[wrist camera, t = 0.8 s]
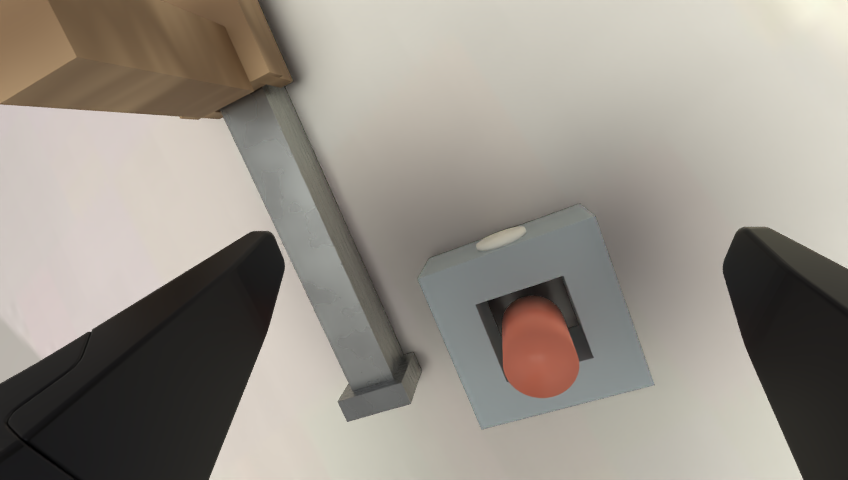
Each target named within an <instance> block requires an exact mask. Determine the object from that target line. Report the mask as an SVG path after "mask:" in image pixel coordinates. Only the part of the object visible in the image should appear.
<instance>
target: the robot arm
mask: <svg viewBox="0 0 848 480" xmlns="http://www.w3.org/2000/svg"><path fill="white" fill-rule="evenodd" d="M284 269H285V263H284V259H283V256H282V254H281V251H280V249H279V247H278V244H277V242H276V239H275V237H274V235H273V234H272V233H271V232H269V231H253V232H250V233H248V234H247V235H245V236H243V237H242V238H240V239H238V240H237V241H235V242H234V243H232V244H230V245H229V246H227V247H225V248H224V249H222V250H221V251H219V252H217V253H216V254H214V255H212V256H211V257H209V258H208V259H206V260H204V261H203V262H201V263H199V264H198V265H196V266H195V267H193V268H191V269H190V270H188V271H186V272H185V273H183V274H182V275H180V276H178V277H177V278H175V279H173V280H172V281H170V282H169V283H167V284H165V285H164V286H162V287H160V288H159V289H157V290H156V291H154V292H152V293H151V294H149V295H147V296H146V297H144V298H143V299H141V300H139V301H138V302H136V303H134V304H133V305H131V306H130V307H128V308H126V309H125V310H123V311H121V312H120V313H118V314H117V315H115V316H113V317H112V318H110V319H108V320H107V321H105V322H104V323H102V324H100V325H99V326H97V327H95V328H94V329H93V330H92V332H87V333H85V334H84V335H82V336H81V337H79V338H77V339H76V340H74V341H73V342H71V343H69V344H68V345H66V346H64V347H63V348H61V349H59V350H58V351H56V352H54V353H53V354H51V355H49V356H48V357H46V358H44V359H43V360H41V361H39V362H38V363H36V364H34V365H32V366H30V367H29V368H27V369H25V370H23V371H22V372H20V373H18V374H16V375H15V376H13V377H11V378H9V379H7V380H6V381H4V382H2V383H1V384H0V480H209V478H210V475H211V473H212V470H213V468H214V465H215V462H216V460H217V457H218V455H219V452H220V450H221V447H222V445H223V442H224V440H225V437H226V435H227V432H228V430H229V427H230V425H231V422H232V420H233V417H234V415H235V412H236V410H237V407H238V405H239V402H240V400H241V397H242V395H243V392H244V390H245V387H246V385H247V382H248V380H249V377H250V375H251V372H252V370H253V367H254V365H255V362H256V360H257V357H258V354H259V352H260V349H261V347H262V344H263V342H264V339H265V337H266V334H267V331H268V328H269V325H270V321H271V318H272V314H273V311H274V307H275V303H276V300H277V296H278V292H279V289H280V285H281V281H282V278H283V274H284ZM723 274H724V278H725V281H726V285H727V288H728V291H729V295H730V298H731V301H732V305H733V308H734V312H735V315H736V318H737V322H738V325H739V328H740V332H741V335H742V338H743V341H744V344H745V347H746V349H747V352H748V354H749V357H750V359H751V361H752V364H753V366H754V368H755V371H756V373H757V375H758V377H759V380H760V382H761V384H762V387H763V389H764V391H765V393H766V396H767V398H768V400H769V402H770V405H771V407H772V409H773V412H774V414H775V416H776V418H777V421H778V423H779V425H780V428H781V430H782V432H783V434H784V437H785V439H786V441H787V443H788V446H789V448H790V450H791V453H792V455H793V457H794V459H795V462H796V464H797V466H798V468H799V471H800V473H801V475H802V478H803V480H848V269H847V268H845V267H843V266H841V265H839V264H837V263H835V262H834V261H832V260H830V259H828V258H826V257H824V256H822V255H820V254H818V253H816V252H814V251H813V250H811V249H809V248H807V247H805V246H803V245H801V244H799V243H797V242H795V241H793V240H791V239H790V238H788V237H786V236H784V235H782V234H780V233H778V232H776V231H774V230H772V229H770V228H768V227H743V228H740V229H739V230H738V231H737V232H736V234H735V236H734V238H733V240H732V243H731V245H730V248H729V250H728V252H727V255H726V257H725V259H724V262H723Z"/></svg>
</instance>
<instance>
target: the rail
mask: <svg viewBox="0 0 848 480" xmlns="http://www.w3.org/2000/svg"><path fill="white" fill-rule="evenodd" d="M220 111H221V113H222V115H223V117H224V119H225V122H226V124H227V126H228V128H229V130H230V132H231V134H232V136H233V139H234V141H235V143H236V145H237V147H238V149H239V151H240V153H241V155H242V158H243V160H244V162H245V164H246V166H247V168H248V170H249V172H250V175H251V177H252V179H253V181H254V183H255V185H256V187H257V189H258V192H259V194H260V196H261V198H262V200H263V202H264V204H265V206H266V209H267V211H268V213H269V215H270V217H271V219H272V221H273V223H274V226H275V228H276V230H277V232H278V234H279V236H280V238H281V240H282V243H283V245H284V247H285V249H286V251H287V253H288V255H289V257H290V260H291V262H292V264H293V266H294V268H295V270H296V272H297V274H298V277H299V279H300V281H301V283H302V285H303V287H304V289H305V291H306V294H307V296H308V298H309V300H310V302H311V304H312V306H313V308H314V311H315V313H316V315H317V317H318V319H319V321H320V323H321V325H322V328H323V330H324V332H325V334H326V336H327V338H328V340H329V342H330V345H331V347H332V349H333V351H334V353H335V355H336V357H337V359H338V361H339V364H340V366H341V368H342V370H343V372H344V374H345V376H346V378H347V381H348V383H349V384H348V385H347V387H346V389H345V390H344V392H343V394H342V395H341V397H340V399H339V400H338V403H339V406H340V408H341V410H342V412H343V414H344V416H345V418H346V420H347V422H348V421H352V420H356V419H359V418H363V417H366V416H370V415H373V414H377V413H380V412H384V411H387V410H391V409H394V408H398V407H401V406H405V405H409V404H411V402H412V399H413V396H414V393H415V390H416V387H417V383H418V380H419V377H420V374H421V371H422V370H421V368H420V366H419V363H418V361H417V359H416V357H415V354H414V352H412V353H409V354H405V355H404V354H403V352H402V350H401V348H400V345H399V343H398V341H397V339H396V336H395V334H394V332H393V330H392V327H391V325H390V323H389V321H388V318H387V316H386V314H385V312H384V309H383V307H382V305H381V303H380V300H379V298H378V296H377V294H376V291H375V289H374V287H373V285H372V282H371V280H370V278H369V276H368V273H367V271H366V269H365V267H364V264H363V262H362V260H361V258H360V255H359V253H358V251H357V249H356V246H355V244H354V242H353V240H352V237H351V235H350V233H349V231H348V228H347V226H346V224H345V222H344V219H343V217H342V215H341V213H340V210H339V208H338V206H337V203H336V201H335V199H334V197H333V194H332V192H331V190H330V188H329V185H328V183H327V181H326V179H325V176H324V174H323V172H322V170H321V167H320V165H319V163H318V161H317V158H316V156H315V154H314V152H313V149H312V147H311V145H310V143H309V140H308V138H307V136H306V134H305V131H304V129H303V127H302V125H301V122H300V120H299V118H298V116H297V113H296V111H295V109H294V107H293V104H292V102H291V100H290V98H289V95H288V93H287V91H286V89H285V86H284V87H282V88H280V87H275V86H271V85H267V84H266V85H264V86H262V87H260V88H258V89H256V90H255V91H254V92H252V93H250V94H248V95H246V96H244V97H242V98H240V99H238V100H236V101H234V102H232V103H230V104H228V105H226V106H224V107H222V108H221V109H220Z"/></svg>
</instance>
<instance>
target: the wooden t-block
mask: <svg viewBox="0 0 848 480" xmlns="http://www.w3.org/2000/svg"><path fill="white" fill-rule="evenodd" d="M292 82H293V80H292V77H291V75H290V73H289V71H288V68H287V66H286V64H285V62H284V59H283V57H282V55H281V53H280V50H279V48H278V46H277V43H276V41H275V39H274V37H273V34H272V32H271V30H270V28H269V25H268V23H267V21H266V18H265V16H264V14H263V12H262V9H261V7H260V5H259V3H258V0H0V104H4V105H18V106H33V107H48V108H63V109H78V110H92V111H107V112H122V113H137V114H152V115H167V116H179V117H180V118H181V119H197V120H198V119H200V118H211V119H221V118H223V115H222V113H221V111H220V109H221V108H222V107H224V106H226V105H228V104H230V103H232V102H234V101H236V100H238V99H240V98H242V97H244V96H246V95H248V94H250V93H252V92H254V91H255V90H256V89H258V88H260V87H262V86H264V85H266V84H267V85H271V86H275V87H280V88H282V87H284V86H286V85H288V84H290V83H292Z"/></svg>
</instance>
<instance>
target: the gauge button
mask: <svg viewBox="0 0 848 480" xmlns="http://www.w3.org/2000/svg"><path fill="white" fill-rule="evenodd" d="M502 351H503V370H504V373H505V376H506V378H507V380H508V381H509V383H510V384H511V385H512V386H513V387H514V388H515V389H516V390H518V391H519V392H521V393H523V394H525V395H527V396H530V397H535V398H549V397H554V396H557V395H559V394H561V393H563V392H565V391H566V390H567V389H569V388H570V387H571V386H572V384H573V383H574V382H575V380H576V378H577V375H578V372H579V358H578V355H577V352H576V349H575V347H574V344H573V341H572V339H571V336H570V333H569V331H568V328H567V325H566V322H565V320H564V317H563V315H562V312H561V311H560V309H559V308H558V307H557V305H555V304H554V303H553V302H552V301H550V300H548V299H546V298H544V297H540V296H525V297H522V298H519V299H517V300H515V301H514V302H512V303H511V304H510V305H509V306H508V307H507V309H506V310H505V312H504V315H503V318H502Z"/></svg>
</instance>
